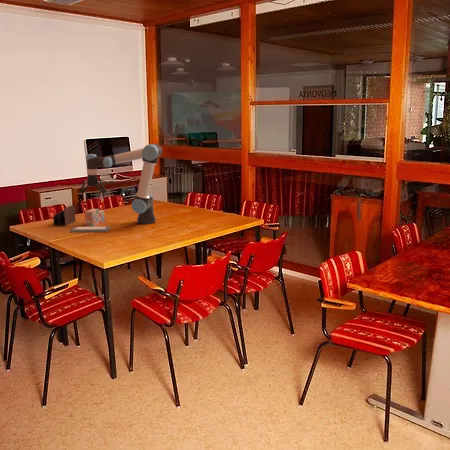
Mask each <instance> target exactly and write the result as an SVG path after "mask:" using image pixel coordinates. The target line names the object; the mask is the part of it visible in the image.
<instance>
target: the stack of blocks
mask: <svg viewBox="0 0 450 450" xmlns="http://www.w3.org/2000/svg"><path fill="white" fill-rule="evenodd" d="M84 220H85V226H100V225H101V224H103V223H105V211H104V210H100V209H99V208H91V209H88V210H86V211H84Z"/></svg>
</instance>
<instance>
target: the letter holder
mask: <svg viewBox="0 0 450 450" xmlns="http://www.w3.org/2000/svg"><path fill="white" fill-rule="evenodd" d="M75 222H77V220H76V209H75V205H69V206H67V207H66V208H64V209H63V210H62V211H59V212H58V213H56V214H55V215H54V216H53V226H54V227H67V226H69V225H71V224H74V223H75Z"/></svg>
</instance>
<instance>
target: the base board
mask: <svg viewBox="0 0 450 450" xmlns="http://www.w3.org/2000/svg"><path fill="white" fill-rule="evenodd" d="M110 230H111V225H106V226H105V225H103V226H100V225H97V226H86V225H85V226H74V227H72V228H71V229H70V233H108V232H109V231H110Z"/></svg>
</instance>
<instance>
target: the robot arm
mask: <svg viewBox="0 0 450 450" xmlns="http://www.w3.org/2000/svg"><path fill="white" fill-rule="evenodd" d="M162 155H163V148H162V146H161V145H160V144H158V143H150V144H146V145H145V146H144V147H143V148H141V149H140V148H139V149H135V150H131V151H126V152H120V153H118V154H112V155H107V156H97V154H95V153H89V154H87V155H86V160H85V161H86V173H87V176H86V177H87V179H86V180H85V179H84V180H83V182H82V184H81V187H80V189H79V193H81V195H82V198H83V202H86V201H87V200H86V198H87V197H86V191H87V190H88V188H89V187H96V188H97V189H98V190H99V191H100V192H101V194H100V198H101V199H100V200H101V202H103V201H104V197H105V193H106V192H107V190H106V188H105V186H104V184H103V180H101V179H100V180H98V168H112V166H114V165H115V166H116V165H118V164H123V163H129V162H133V161H138V160H142V161H141V162H143V165H142V169H141V175H140V179H139V184H138V188H137V189H138V190H137V192H136V193H135V194H134V198H133V200H132V202H131V209H132V211H133V212H134V213H136V214H137V218H136V222H137V223H136V224H140V225H147V224H148V225H149V223H151V224H154V222H155V223H156V222H157V218H156V216H155V213H154V196H153V194H151V193H150V189H151V184H152V181H153V176H154V172H155V171H154V170H155V166H156V165H157V164H158V161H159V158H160V157H161V156H162ZM86 184H87V185H86ZM99 184H100V185H99Z"/></svg>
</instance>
